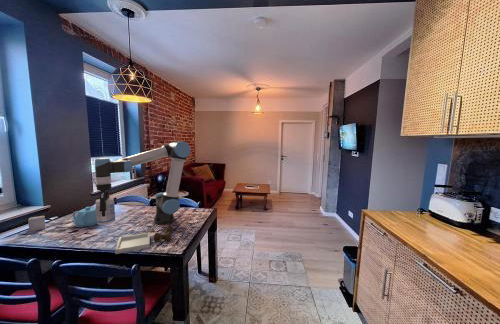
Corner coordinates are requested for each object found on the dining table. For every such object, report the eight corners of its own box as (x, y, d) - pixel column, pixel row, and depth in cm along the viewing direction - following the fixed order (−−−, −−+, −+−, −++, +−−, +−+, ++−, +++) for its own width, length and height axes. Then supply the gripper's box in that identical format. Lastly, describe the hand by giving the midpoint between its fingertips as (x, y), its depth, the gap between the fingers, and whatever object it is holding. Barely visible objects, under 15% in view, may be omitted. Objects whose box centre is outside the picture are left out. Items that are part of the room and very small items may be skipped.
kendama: (176, 232, 143) (167, 245, 123) (162, 233, 142) (151, 246, 122) (176, 224, 142) (167, 236, 122) (162, 224, 141) (150, 236, 121)
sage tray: (149, 235, 135) (149, 232, 135) (149, 247, 120) (149, 243, 120) (119, 240, 128) (119, 237, 127) (115, 254, 112) (115, 249, 112)
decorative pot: (70, 225, 149) (69, 208, 148) (96, 219, 163) (95, 202, 162) (80, 231, 141) (78, 212, 140) (105, 223, 155) (105, 206, 153)
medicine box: (45, 226, 147) (44, 215, 146) (45, 228, 144) (44, 216, 143) (29, 229, 141) (28, 218, 141) (29, 232, 138) (28, 219, 137)
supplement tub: (115, 223, 125) (113, 200, 124) (96, 226, 120) (94, 202, 119) (115, 218, 133) (114, 196, 132) (97, 221, 128) (95, 198, 127)
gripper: (100, 180, 132) (102, 213, 135) (91, 187, 113) (94, 225, 115) (114, 179, 136) (115, 212, 138) (107, 186, 116) (110, 223, 118)
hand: (106, 218), depth 126 cm, fingers closed on supplement tub, 10 cm apart
